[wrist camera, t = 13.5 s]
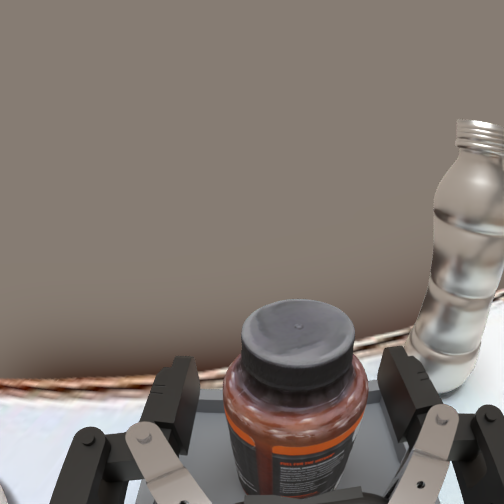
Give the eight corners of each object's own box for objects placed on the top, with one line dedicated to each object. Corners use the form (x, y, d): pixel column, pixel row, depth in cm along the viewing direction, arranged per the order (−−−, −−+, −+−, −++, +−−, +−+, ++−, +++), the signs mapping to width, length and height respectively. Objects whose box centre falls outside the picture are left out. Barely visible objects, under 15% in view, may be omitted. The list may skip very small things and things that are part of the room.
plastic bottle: (388, 356, 25) (418, 115, 17) (450, 349, 24) (491, 128, 16) (407, 410, 19) (468, 116, 11) (476, 395, 18) (546, 137, 11)
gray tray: (385, 399, 20) (392, 377, 19) (427, 533, 9) (445, 521, 8) (176, 408, 21) (169, 387, 20) (142, 548, 10) (126, 538, 9)
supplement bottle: (360, 473, 14) (416, 325, 10) (282, 534, 11) (293, 426, 7) (294, 422, 18) (301, 272, 14) (219, 467, 15) (182, 320, 11)
